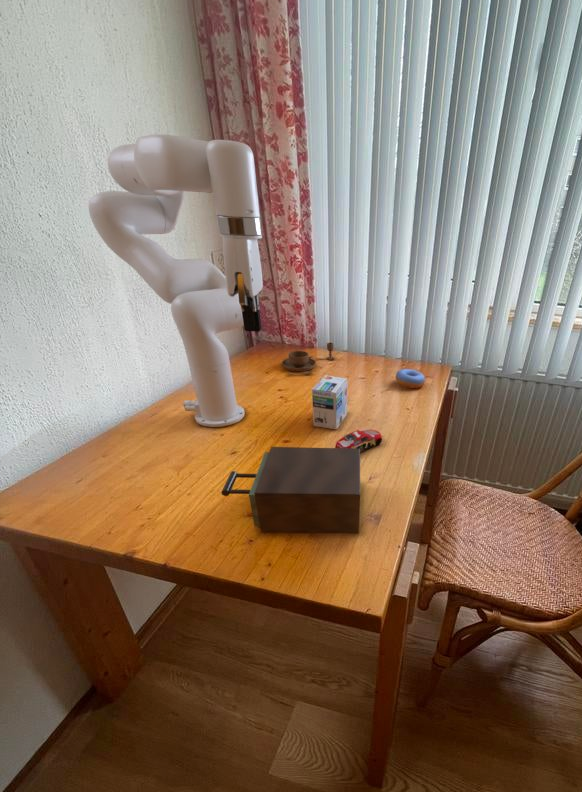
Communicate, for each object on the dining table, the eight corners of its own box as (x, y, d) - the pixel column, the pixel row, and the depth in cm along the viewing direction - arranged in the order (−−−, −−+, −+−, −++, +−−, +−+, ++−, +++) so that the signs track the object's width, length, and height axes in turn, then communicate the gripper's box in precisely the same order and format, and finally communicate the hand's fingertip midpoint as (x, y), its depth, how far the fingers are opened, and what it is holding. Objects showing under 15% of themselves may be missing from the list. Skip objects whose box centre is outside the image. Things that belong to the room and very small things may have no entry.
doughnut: (426, 381, 134) (427, 369, 132) (421, 392, 126) (422, 379, 124) (398, 377, 136) (399, 364, 133) (392, 388, 128) (393, 374, 125)
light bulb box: (336, 430, 102) (336, 393, 96) (312, 426, 103) (310, 389, 97) (348, 413, 111) (348, 377, 105) (325, 409, 112) (324, 374, 106)
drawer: (219, 526, 69) (211, 494, 65) (239, 481, 80) (233, 451, 76) (346, 527, 71) (346, 496, 67) (348, 482, 82) (348, 453, 78)
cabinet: (260, 532, 70) (254, 492, 64) (275, 483, 82) (271, 446, 77) (359, 533, 71) (360, 494, 66) (359, 484, 83) (360, 448, 78)
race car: (372, 434, 102) (372, 421, 99) (386, 443, 98) (387, 429, 96) (331, 450, 94) (331, 436, 92) (345, 460, 91) (345, 445, 88)
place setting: (280, 359, 144) (278, 343, 141) (333, 357, 149) (332, 341, 146) (284, 376, 130) (283, 359, 127) (342, 373, 136) (342, 357, 132)
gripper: (230, 225, 76) (243, 320, 87) (205, 229, 64) (224, 340, 74) (268, 227, 77) (277, 322, 87) (251, 232, 64) (264, 341, 75)
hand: (253, 330), depth 81 cm, fingers closed
